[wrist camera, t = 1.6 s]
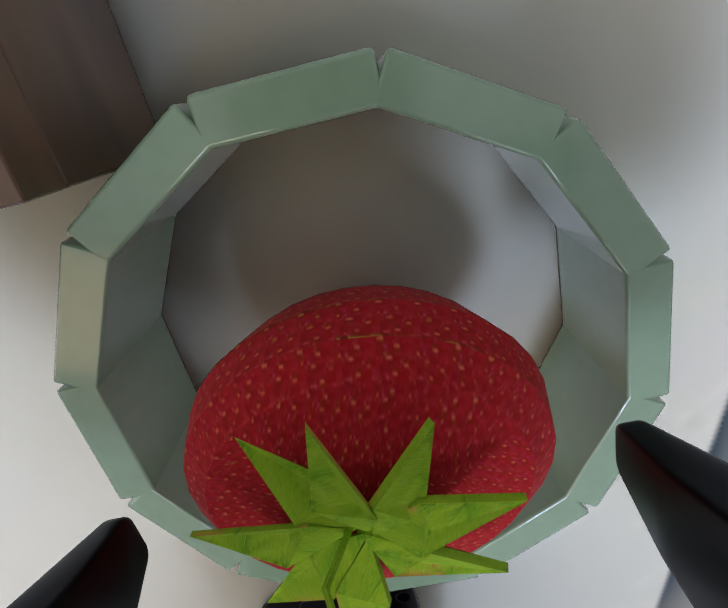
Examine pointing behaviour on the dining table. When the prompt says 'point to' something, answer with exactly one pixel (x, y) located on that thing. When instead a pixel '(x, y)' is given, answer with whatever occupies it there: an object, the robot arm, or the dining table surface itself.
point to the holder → (313, 105)
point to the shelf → (64, 97)
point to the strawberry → (368, 443)
